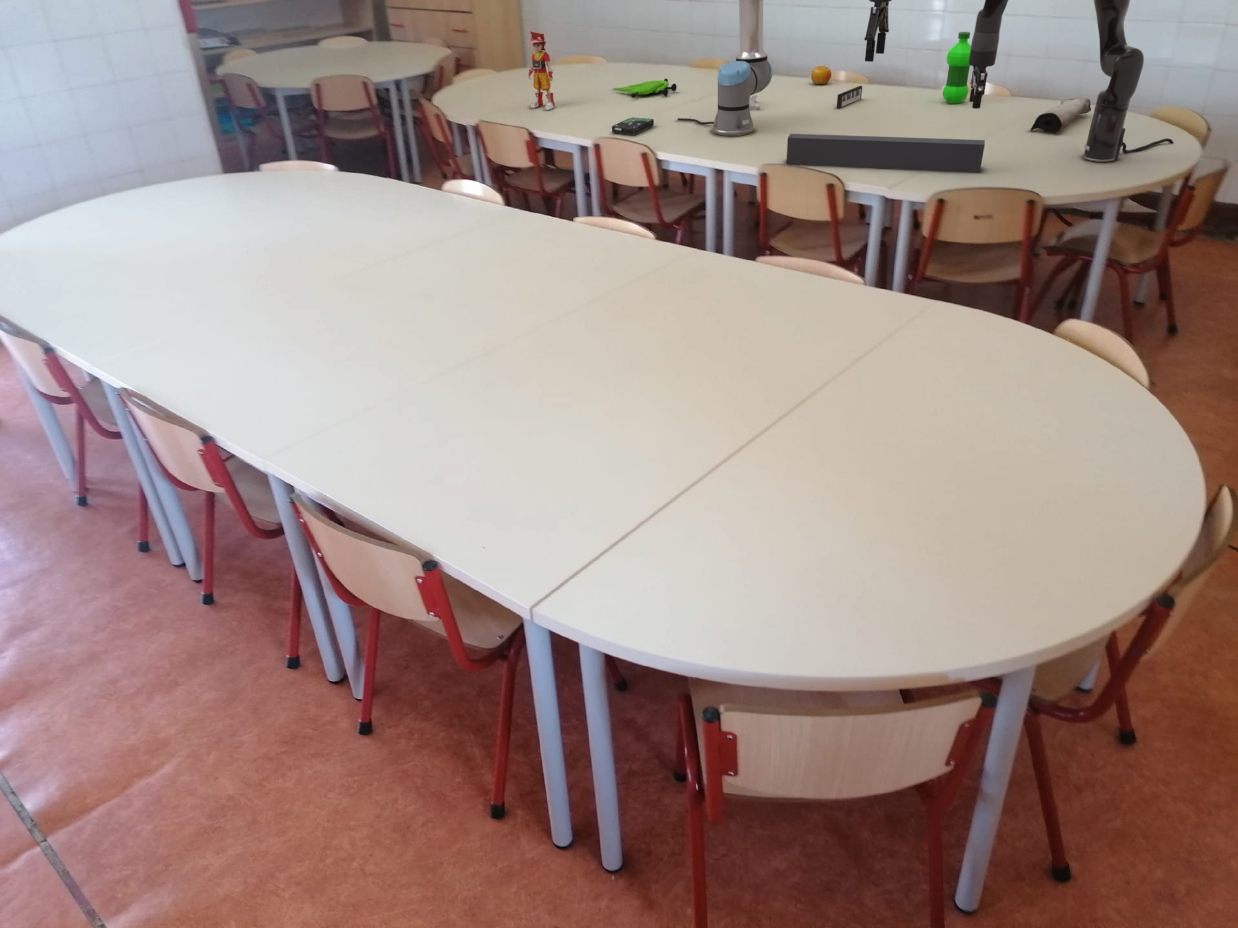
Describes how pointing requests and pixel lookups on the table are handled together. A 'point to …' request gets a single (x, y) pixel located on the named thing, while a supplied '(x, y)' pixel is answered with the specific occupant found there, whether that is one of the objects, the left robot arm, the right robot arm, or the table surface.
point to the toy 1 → (541, 71)
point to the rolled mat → (1061, 115)
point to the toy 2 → (648, 88)
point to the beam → (886, 152)
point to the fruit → (821, 75)
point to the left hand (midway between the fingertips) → (874, 57)
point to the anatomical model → (753, 102)
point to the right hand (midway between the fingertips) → (974, 105)
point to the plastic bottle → (958, 70)
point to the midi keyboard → (849, 96)
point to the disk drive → (632, 126)
